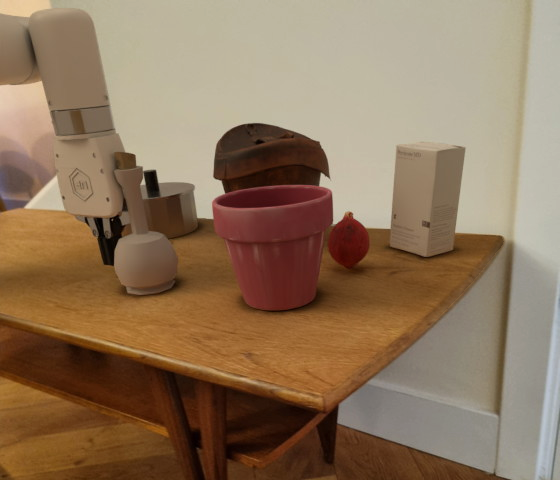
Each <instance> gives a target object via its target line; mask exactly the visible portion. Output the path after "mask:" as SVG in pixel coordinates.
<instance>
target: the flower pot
mask: <svg viewBox="0 0 560 480" xmlns="http://www.w3.org/2000/svg"><path fill="white" fill-rule="evenodd" d="M211 206H212V207H211V208H212V218H213V225H214V233H215V234H216V235H217V236H218V237H220V239H221V238H222V239H223V241H224V244H225V248H226V251H227V254H228V257H229V260H230V263H231V266H232V269H233V273H234V275H235V278H236V281H237V283H238V286H239V288H240V291H241V294H242V297H243V300H244V302H245V304H247V305H248V306H249V307H251V308H253V309H257V310H261V311H262V310H263V311H287V310H291V309H297V308H300V307H303V306H306V305H308V304H310V303H311V302H313V301H314V299H315V297H316V295H317V289H318V284H319V277H320V272H321V267H322V260H323V259H322V258H323V254H324V248H325V242H326V241H325V240H326V234H327V233H326V232H327V230H328V229H329V228H331V227H332V226H333V224H334V198H333V191H332V190H331V189H330V188H328V187H324V186H320V185H319V186H313V185H279V186H265V187H256V188H249V189H243V190H238V191H233V192H229V193H226V194H225V193H223V194H221V195H218V196H217V197H214V199H213V200H212V202H211Z"/></svg>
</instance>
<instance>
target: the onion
mask: <svg viewBox="0 0 560 480" xmlns="http://www.w3.org/2000/svg"><path fill="white" fill-rule="evenodd" d="M370 244H371V243H370V236H369V231H368V229H367V228H366V227H365V226H364V225H363V223H362V222H360V221H359V220H357V219H356V218H354V212H352V211H350V210H347V211H345V213H344V214H343V217H342V219H341V220H339V221H338V222H337V223H336V224H334V225H333V227H332V228H331V230H330V233H329V235H328V237H327V250H328V253H329V255H330V257H331V258H332V259H333V260H334V262H336V263H337V264H338V265H340V266H341V267H342V268H344V269H346V270H351V269H353V268H355V266H356V265H358V264H359V263H360V262H362V260H363V259H365V257H366V256H367V254H368V253H369V250H370Z"/></svg>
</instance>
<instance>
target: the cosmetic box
mask: <svg viewBox="0 0 560 480" xmlns="http://www.w3.org/2000/svg"><path fill="white" fill-rule="evenodd" d="M395 147H396V148H395V162H394V174H393V175H394V176H393V188H392V203H391V204H392V205H391V217H390V230H389V231H390V232H389V247H391V248H393V249H397V250H400V251H405V252H408V253H412V254H415V255H417V256H421V257H425V258H430V257H433V256H436V255H439V254H445V253H447V252H450V251H453V250H454V246H455V245H454V243H455V236H456V228H457V220H458V212H459V205H460V204H459V203H460V196H461V188H462V187H461V186H462V179H463V170H464V164H465V157H466V156H465V155H466V146H463V145H462V146H461V145H456V144H448V143H445V142H444V143H443V142H435V141H417V142H416V141H415V142H410V143H400V144H396V145H395Z"/></svg>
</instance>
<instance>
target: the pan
mask: <svg viewBox="0 0 560 480" xmlns="http://www.w3.org/2000/svg"><path fill="white" fill-rule="evenodd" d="M194 191H195V190H194ZM194 191H193V192H191V193H188V194H186V195H182V196H179V197H174V198H169V199H163V200H156V201H146V202H143V204H144V210H145V215H146V220H147V226H148V231H154V232H159V233H161V234H164V235H165V236H166V238H167V239H168V240H169V239H172V238H173V239H174V238H177V237H181V236H185V235H187V234H190V233H192V232H194V231H196V230H197V229H198V227H199V220H198V214H197V205H196V198H195V192H194ZM124 230H125V231H124V233H122V238H123V237H125V236H127V235H129V234H132V228H131V223H130V224H126V226H125V228H124Z"/></svg>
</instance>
